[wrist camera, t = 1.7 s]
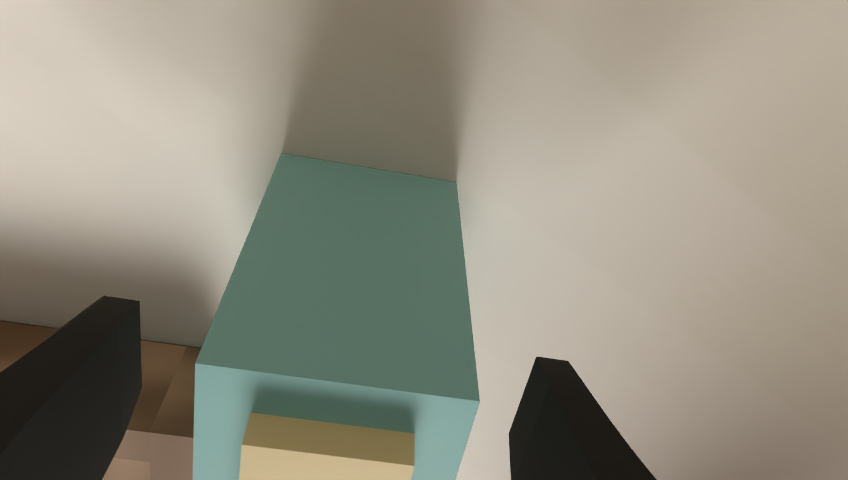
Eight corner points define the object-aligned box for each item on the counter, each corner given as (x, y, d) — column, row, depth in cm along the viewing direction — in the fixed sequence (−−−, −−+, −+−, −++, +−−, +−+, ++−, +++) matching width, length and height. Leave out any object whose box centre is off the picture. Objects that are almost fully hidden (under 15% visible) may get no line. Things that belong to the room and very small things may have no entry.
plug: (456, 182, 16) (483, 433, 9) (424, 318, 18) (427, 603, 11) (281, 153, 15) (182, 394, 9) (268, 296, 17) (180, 576, 11)
